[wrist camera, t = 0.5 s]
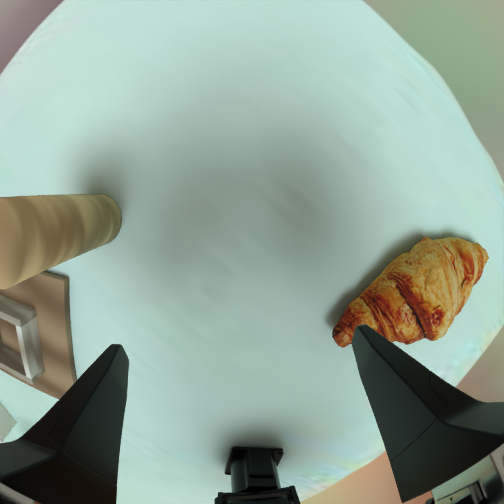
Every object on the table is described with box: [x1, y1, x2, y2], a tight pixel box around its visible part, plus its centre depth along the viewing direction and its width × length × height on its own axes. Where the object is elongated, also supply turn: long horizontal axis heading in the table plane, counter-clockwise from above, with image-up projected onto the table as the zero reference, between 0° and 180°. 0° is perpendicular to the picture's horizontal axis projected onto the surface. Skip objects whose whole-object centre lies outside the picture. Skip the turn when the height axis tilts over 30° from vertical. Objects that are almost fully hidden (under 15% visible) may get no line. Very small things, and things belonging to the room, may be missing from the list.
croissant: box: [332, 237, 489, 347], centre depth 23 cm, size 21×10×8 cm
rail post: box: [0, 194, 121, 289], centre depth 15 cm, size 4×4×13 cm
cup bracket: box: [0, 271, 77, 399], centre depth 21 cm, size 16×16×4 cm
